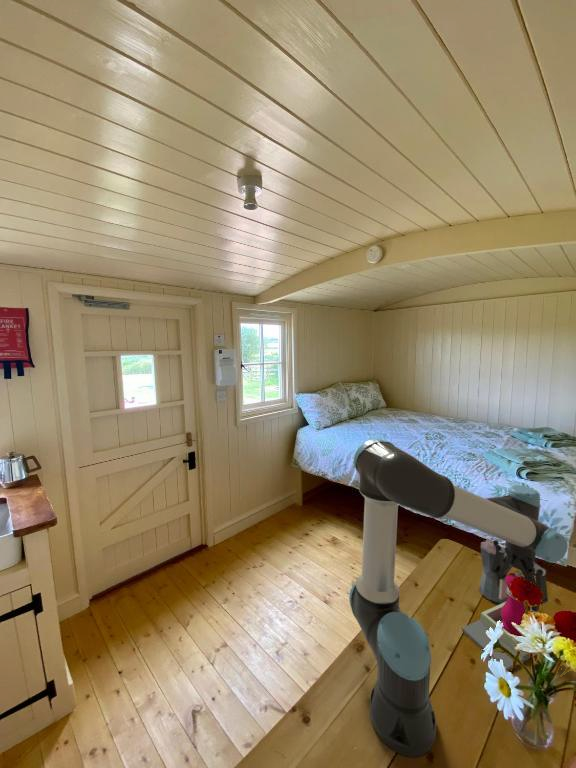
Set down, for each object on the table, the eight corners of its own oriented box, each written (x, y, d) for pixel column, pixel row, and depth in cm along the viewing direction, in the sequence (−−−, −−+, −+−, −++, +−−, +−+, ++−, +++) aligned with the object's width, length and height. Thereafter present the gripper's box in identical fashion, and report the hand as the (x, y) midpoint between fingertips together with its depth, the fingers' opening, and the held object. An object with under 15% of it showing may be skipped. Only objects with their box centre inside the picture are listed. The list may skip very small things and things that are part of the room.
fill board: (505, 671, 89) (506, 658, 89) (461, 630, 102) (462, 619, 102) (552, 645, 96) (554, 633, 96) (506, 610, 109) (507, 599, 109)
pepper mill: (504, 637, 98) (508, 577, 96) (497, 618, 105) (500, 561, 103) (532, 643, 96) (537, 581, 94) (523, 623, 103) (527, 565, 100)
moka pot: (497, 580, 123) (500, 531, 121) (522, 613, 108) (526, 558, 105) (470, 579, 124) (473, 530, 122) (491, 612, 109) (495, 557, 106)
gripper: (569, 555, 89) (562, 630, 91) (496, 518, 108) (493, 581, 110) (551, 562, 86) (545, 639, 89) (480, 523, 105) (477, 588, 108)
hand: (516, 607), depth 100 cm, fingers open, 8 cm apart
